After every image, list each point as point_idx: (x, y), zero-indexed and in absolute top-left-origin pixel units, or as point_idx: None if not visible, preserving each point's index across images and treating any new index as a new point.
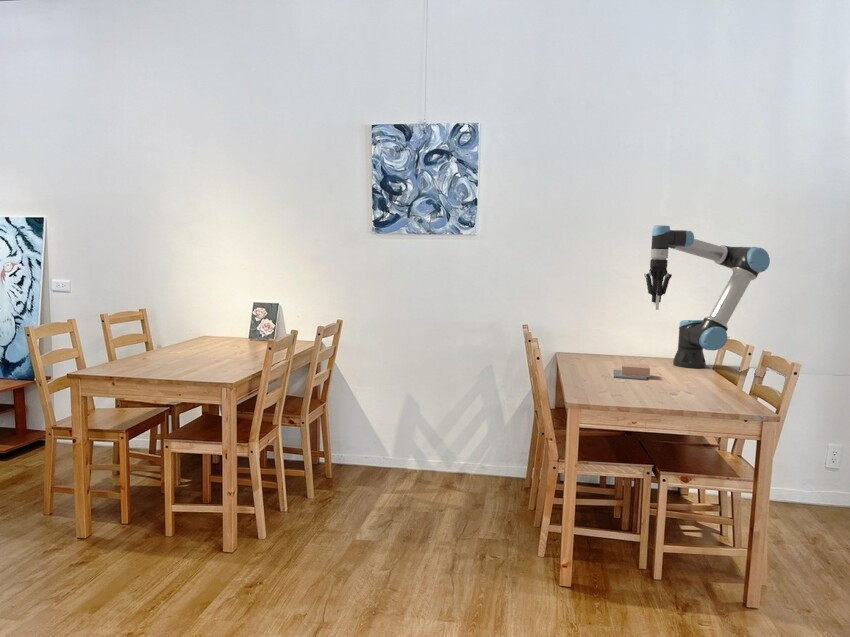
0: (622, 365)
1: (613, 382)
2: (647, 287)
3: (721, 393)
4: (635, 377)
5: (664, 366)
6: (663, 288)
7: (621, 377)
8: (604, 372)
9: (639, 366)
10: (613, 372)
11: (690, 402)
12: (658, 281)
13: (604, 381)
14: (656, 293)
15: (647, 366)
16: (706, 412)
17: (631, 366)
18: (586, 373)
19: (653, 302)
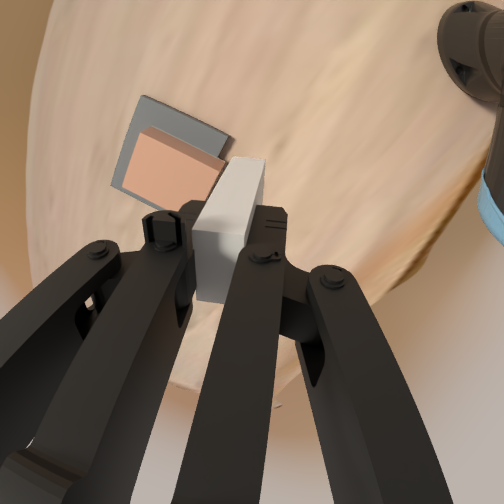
0: (127, 174)
1: (101, 225)
2: (21, 301)
3: (288, 338)
4: (159, 208)
5: (389, 30)
6: (316, 390)
7: (128, 193)
8: (114, 106)
9: (173, 193)
10: (131, 123)
11: (188, 361)
12: (182, 499)
13: (85, 213)
14: (185, 320)
15: (199, 196)
16: (184, 388)
17: (148, 191)
18: (67, 122)
19: (217, 188)
